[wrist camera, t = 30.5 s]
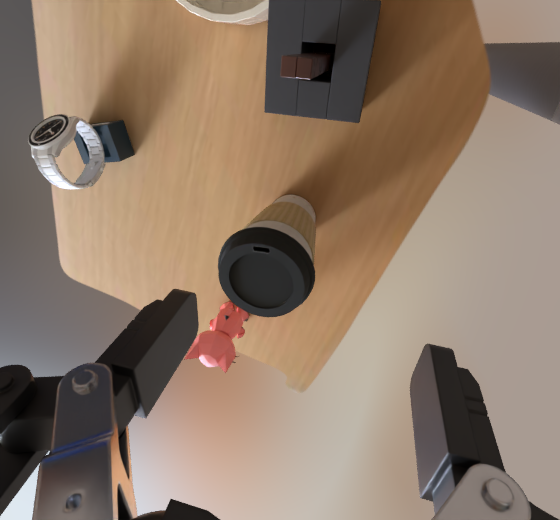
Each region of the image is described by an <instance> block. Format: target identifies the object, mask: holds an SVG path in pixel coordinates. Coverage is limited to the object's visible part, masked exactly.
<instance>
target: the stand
mask: <svg viewBox="0 0 560 520" xmlns="http://www.w3.org/2000/svg"><path fill="white" fill-rule="evenodd" d="M380 6H381V1H380V0H269V8H268V35H267V61H266V88H265V112H266V113H275V114H283V115H292V116H302V117H310V118H319V119H328V120H337V121H346V122H355V123H359V122H360V117H361V112H362V107H363V101H364V96H365V90H366V85H367V79H368V74H369V68H370V62H371V57H372V51H373V46H374V40H375V35H376V29H377V24H378V18H379V13H380ZM314 43H327V44H336V47H335V54H334V62H333V70H332V76H327V75H318V76H316V77H314V78H313V79H311V80H306V79H297V78H287V77H281V76H280V75H281V59H282V55H291V54H301V53H311V52H313V50H314Z"/></svg>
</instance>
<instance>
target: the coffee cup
mask: <svg viewBox="0 0 560 520" xmlns="http://www.w3.org/2000/svg"><path fill="white" fill-rule="evenodd" d="M315 220H316V216H315V212H314V209H313V207H312V206H311V204H310V203H309V202H308V201H307V200H305V199H304V198H302V197H300V196H296V195H284V196H282V197H280V198H278V199H277V200H275V201H274V202H273V203H272V204H271V205H269V206H268V207H266V208H265V209H264V210H263V211H262V212H261V213H260V214H259V215H257V216H256V217H255V218H254V219H253V220H252V221H251V222H250V223H249V224H247V225H246V226H245V227H244V228H243V229H242V230H240V231H238V232H236V233H235V234H233V235H232V236H231V237H230V238H229V239H228V240H227V241H226V242H225V244H224V245H223V247H222V249H221V252H220V255H219V261H218V269H219V280H220V284H221V286H222V289H223V291H224V292H225V294H226V295H227V297H228V298H229V299H230V300H231V301H232V302H233V303H234V304H235V305H237V306H238V307H239V308H241V309H243V310H244V311H246V312H249V313H251V314H254V315H258V316H263V317H277V316H281V315H284V314H287V313H289V312H291V311H292V310H294V309H295V308H296V307H298V306H299V305H301V304H302V303H303V302H304V301H305V300H306V299H307V297H308V296H309V294H310V292H311V291H312V289H313V286H314V282H315V270H314V253H315V237H316V227H315Z"/></svg>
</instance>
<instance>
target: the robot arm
mask: <svg viewBox="0 0 560 520" xmlns="http://www.w3.org/2000/svg"><path fill="white" fill-rule="evenodd" d="M198 325H199V324H198V311H197V298H196V294H195V293H193V292H188V291H183V290H179V289H173V290H172V291H171V292H170V293H169V294H168V295H167V297H166V298H165V299H164V300H163V301H162V300H156V301H154V302H152V303H150V304H149V305H147V306H145V307H144V308H143V309H142V310H141V311H140V312H139V314H138V315H137V316H136V317H135V319H134V320H132V321H131V323H130V324H129V325H128V326H127V328H126V329H124V330H123V332H122V333H121V334H120V335H119V336H118V337H117V338H116V339H115V341H114V342H113V343H112V344H111V345H110V346H109V347H108V348H107V349H106V351H105V352H104V353H103V354H102V355H101V356H100V357H99V358H98V360H97V361H96V362H95V363H87V364H83V365H80V366H78V367H76V368H74V369H72V370H71V371H70V372H68V373H67V374H66V375H65V376H55V377H33V376H32V374H31V372H30V370H29V369H28V368H27V367H25V366H22V365H8V366H4V367H1V368H0V516H1V514H2V513H3V512H4V510H5V509H6V508H7V506H8V505H9V503H10V502H11V501H12V499H13V498H14V496H15V495H16V494H17V493H18V491H19V490H20V488H21V487H22V486H23V485H24V483H25V482H26V481H27V479H28V478H29V476H30V475H31V474H32V472H33V471H34V470H35V468H36V467H37V466H38V464H39V463H40V466H39V471H38V479H37V487H36V495H35V502H34V510H33V517H32V520H220V519H218V518H217V517H215V516H214V515H213V514H212V513H210V512H209V511H207V510H204V509H201V508H198V507H195V506H191V505H188V504H185V503H182V502H179V501H176V500H173V499H171V500H170V502H169V504H168V507H167V509H166V511H155V512H150V513H147V514H143V515H140V516H138V517H137V508H136V502H135V497H134V491H133V484H132V472H131V458H130V445H129V432H128V424H129V422H130V421H131V419H132V418H133V416H134V415H135V416H139V417H142V418H147V416H148V414H149V413H150V411H151V409H152V408H153V406H154V405H155V403H156V401H157V400H158V398H159V397H160V395H161V393H162V392H163V390H164V388H165V387H166V385H167V384H168V382H169V380H170V379H171V377H172V376H173V374H174V372H175V371H176V369H177V367H178V366H179V364H180V363H181V361H182V359H183V357H184V356H185V354H186V353H187V351H188V350H189V348H190V346H191V345H192V343H193V342H194V340H195V338H196V335H197V332H198ZM410 397H411V407H412V418H413V428H414V438H415V449H416V458H417V470H418V479H419V490H420V498H422V499H426V500H429V501H433V503H434V511H435V516H434V517H433V518H432V520H558V519H557V518H555V517H553V516H552V515H549V514H548V513H546V512H545V511H543V510H541V509H540V508H538V507H536V506H535V505H533V504H532V503H531V502H529V501H528V499H527V497H526V495H525V494H524V492H523V490H522V489H521V488H520V486H519V485H518V484H517V483H516V482H515V480H513V479H512V478H511V477H510V476H509V475H508V474H506V471H505V469H504V466H503V463H502V459H501V456H500V453H499V449H498V446H497V443H496V439H495V436H494V433H493V430H492V426H491V423H490V420H489V417H487V414H488V413H487V410H486V406H485V404H484V403H483V401H484V400H483V397H482V393H481V390H480V386H479V384H478V383H477V381H476V380H475V378H474V377H473V376H472V374H471V373H470V372H469V370H468V369H464V368H459V367H457V363H456V360H455V355H454V352H453V350H452V349H450V348H445V347H440V346H436V345H431V344H426V345H425V346H424V349H423V351H422V353H421V356H420V358H419V360H418V363H417V365H416V367H415V370H414V372H413V375H412V378H411V384H410ZM48 451H50V453H49V455H46V454H47V452H48ZM45 455H46V456H45Z"/></svg>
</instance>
